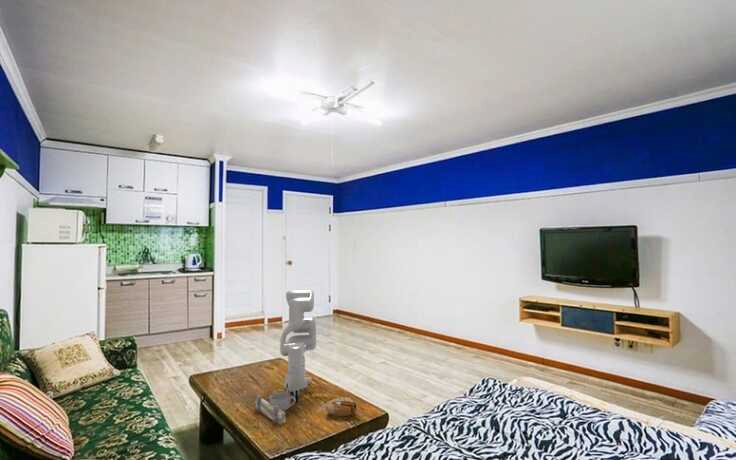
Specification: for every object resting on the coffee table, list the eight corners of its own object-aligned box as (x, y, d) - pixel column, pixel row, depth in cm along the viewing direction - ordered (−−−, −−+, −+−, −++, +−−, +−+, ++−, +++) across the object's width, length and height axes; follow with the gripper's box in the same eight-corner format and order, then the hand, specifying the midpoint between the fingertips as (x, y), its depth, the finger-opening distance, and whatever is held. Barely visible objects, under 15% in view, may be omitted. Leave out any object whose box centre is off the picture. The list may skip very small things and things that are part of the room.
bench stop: (260, 407, 204) (260, 392, 204) (285, 423, 185) (285, 406, 185) (253, 409, 201) (253, 394, 201) (277, 426, 182) (277, 409, 182)
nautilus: (369, 419, 189) (346, 431, 179) (343, 403, 205) (320, 413, 195) (369, 404, 188) (346, 415, 178) (343, 389, 204) (320, 398, 194)
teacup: (265, 413, 196) (265, 398, 196) (276, 405, 206) (276, 390, 206) (289, 417, 191) (288, 401, 192) (299, 408, 202) (299, 393, 202)
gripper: (302, 364, 212) (303, 396, 212) (279, 370, 202) (279, 404, 201) (310, 367, 207) (310, 400, 206) (286, 373, 197) (287, 409, 196)
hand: (295, 402), depth 204 cm, fingers closed
